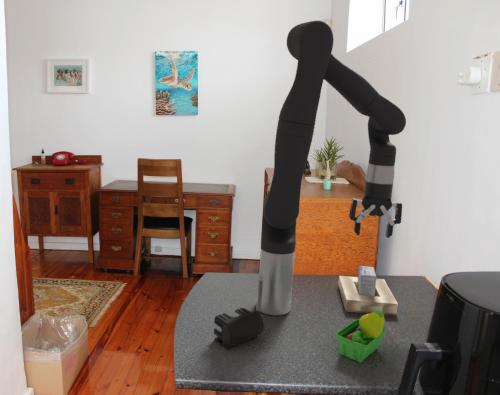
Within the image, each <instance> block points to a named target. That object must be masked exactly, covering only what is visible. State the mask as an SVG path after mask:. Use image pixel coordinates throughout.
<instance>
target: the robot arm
mask: <svg viewBox="0 0 500 395" xmlns="http://www.w3.org/2000/svg"><path fill="white" fill-rule="evenodd" d="M333 47H334V34H333V30H332V28H331V27H330V25H329V24H328V23H327V22H325V21H323V20H311V21H306V22H302V23H301V22H300V23H299V24H297V25H295V26H293V27H292V28H291V29H290V31H289V32H288V34H287V37H286V48H287V50H288V52H289V54H290V55H291V57H292V58H294V59H295V60H297V66H296V72H295V77H294V80H293V83H292V86H291V87H290V90H289V92H288V94H287V95H286V97H285V100H284V102H283V104H282V107H281V109H280V112H279V115H278V121H277V126H276V132H275V133H276V134H275V142H274V156H273V157H274V160H273V161H274V162H273V163H274V164H273V174H272V180H271V184H270V188H269V191H268V193H267V194H266V196H265V198H264V199H263V205H262V221H261V237H260V238H261V239H260V255H259V256H260V257H259V268H258V269H259V270H258V271H259V272H258V280H257V281H258V282H257V294H256V295H257V296H256V310H255V311H257V312H259V313H260V312H261V313H263V314H265V315H270V316H283V315H287V314H288V313H289V312H291V305H292V292H293V280H294V279H293V278H294V267H295V255H296V245H297V244H296V242H297V241H296V240H297V238H296V236H297V235H296V234H297V233H296V232H297V231H296V230H297V219H298V217H299V214H300V201H301V200H300V199H301V190H302V189H301V188H302V181H303V175H304V172H305V168H306V165H307V162H308V157H309V153H310V150H311V146H312V142H313V136H314V133H315V128H316V127H315V125H316V119H317V115H318V114H317V113H318V109H319V106H320V105H319V104H320V98H321V93H322V88H323V83H324V80H325V82H326V83H327V84H329V85H330V86H331V87H332V88H333V89H334V90H336V91H337V92H338V93H339V94H340V95H341V96H342V97H343V99H344V100H346V102H347V103H349V104H350V105H351V106H352V107H353V108H354V109H355V110H356V111H357V112H358V113H359V114H361V115H363V116H365V117H368V121H367V133H368V134H367V135H368V142H369V155H368V156H369V157H368V165H367V169H366V172H365V173H366V174H365V183H364V191H363V198H362V199H357V198H355V197H353V198H352V199H351V202H350V203H351V204H350V208H349V214H348V218H349V219H350V220H351V221H354V227H353V231H354V233H355V234H356V236H360V233H361V225H362V224H361V222H362V221H363V220H364V219H365V218H367V216H368V215H369V216H371V217H374V216H376V217H381V218H382V216H384V218H385V219H386V222H387V223H386V228H385V237H386V238H387V239H390V237H392V236H393V230H394V226H395V225H397V224H401V223H402V214H403V213H402V212H403V204H402V202H400V201H396V202H393V201H392V194H393V187H394V180H395V179H394V178H395V164H396V156H397V147H396V146H395V144H393V143H392V142H391V141H390V136H395V135H399V134H400V133H402V132H403V131H404V130H405V128H406V125H407V119H406V116H405V114H404V112H403V111H402V109H400V107H398V106H397V105H396V104H394V103H393V102H392V101H390V100H389V99H387V98H386V97H384V96H383V95H381V94H380V93H379V92H378V91H377V90H376V88H375V87H373V86H372V84H371V83H370V82H369V81H368V80H366V78H365V77H364V76H362V75H361V74H359V73H358V72H357V71H355V70H354V69H353V68H351V67H349V66H348V65H346V64H345V63H343V62H341V60H340V59H338V58H336V56H335V55H334V54H333V53H332V52H333ZM360 205H362V207H363V208H362V209H361V210H360V212H359V213H358V214H357V215H356V212H357V208H359V207H360ZM392 207H393V209H394V218H392V217H391V215H390V213H389V210H390V209H391V208H392Z"/></svg>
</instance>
